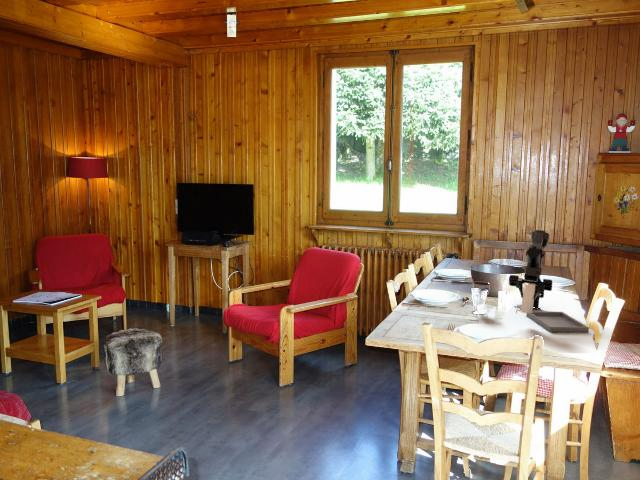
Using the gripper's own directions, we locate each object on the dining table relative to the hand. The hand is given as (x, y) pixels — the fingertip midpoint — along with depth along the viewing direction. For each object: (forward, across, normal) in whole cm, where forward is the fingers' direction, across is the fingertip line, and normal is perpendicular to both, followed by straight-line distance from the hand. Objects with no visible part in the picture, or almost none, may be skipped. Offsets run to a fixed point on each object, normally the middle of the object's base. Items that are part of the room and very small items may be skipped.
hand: (527, 298), depth 260 cm
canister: (+4, 0, +6) cm, 7 cm away
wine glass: (+2, -23, +17) cm, 29 cm away
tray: (+1, +13, +18) cm, 22 cm away
